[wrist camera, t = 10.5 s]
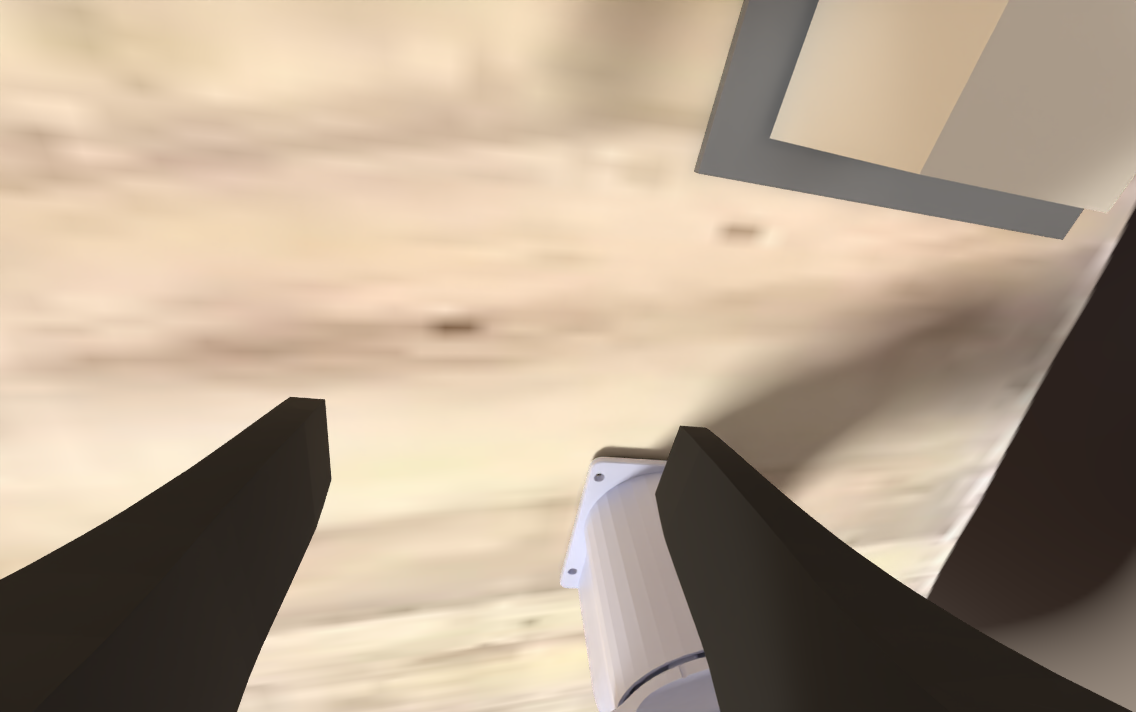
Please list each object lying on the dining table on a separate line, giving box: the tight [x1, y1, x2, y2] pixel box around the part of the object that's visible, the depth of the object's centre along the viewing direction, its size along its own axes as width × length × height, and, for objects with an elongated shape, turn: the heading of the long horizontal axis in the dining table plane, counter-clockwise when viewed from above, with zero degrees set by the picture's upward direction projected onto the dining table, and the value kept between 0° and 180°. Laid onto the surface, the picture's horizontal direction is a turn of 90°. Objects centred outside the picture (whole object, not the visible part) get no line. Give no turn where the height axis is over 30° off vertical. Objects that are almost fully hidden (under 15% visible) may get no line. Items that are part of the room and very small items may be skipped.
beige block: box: [770, 0, 1136, 213], centre depth 12 cm, size 5×5×7 cm
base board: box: [694, 0, 1084, 240], centre depth 16 cm, size 10×16×1 cm, turn 80°
